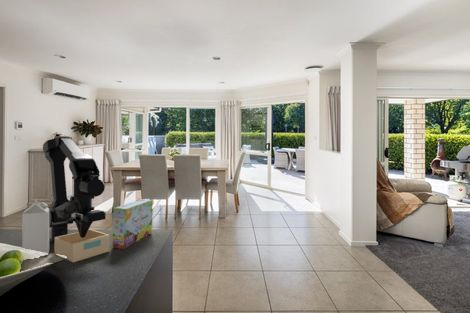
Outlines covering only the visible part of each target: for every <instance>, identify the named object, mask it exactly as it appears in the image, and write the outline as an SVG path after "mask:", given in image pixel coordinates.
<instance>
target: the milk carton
mask: <svg viewBox="0 0 470 313" xmlns="http://www.w3.org/2000/svg"><path fill="white" fill-rule="evenodd" d="M21 216H22V217H21V220H22V224H21V225H22V226H21V228H22V229H21V230H22V232H21V234H22V235H21V236H22V238H21V240H22V245H21V246H22V247H21V248H25V249H31V250H36V251H41V252H47V253H48V254H49V253H50V241H49V238H50V227H49V204H47V203H46V202H43V201H42V202H40V201H39V199H38V197H37V198H36V199H35V200H34V203H33V204H31V205H30V206H29V207H28V208H26V209H25V210H24V211H23V213H22V215H21Z"/></svg>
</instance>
